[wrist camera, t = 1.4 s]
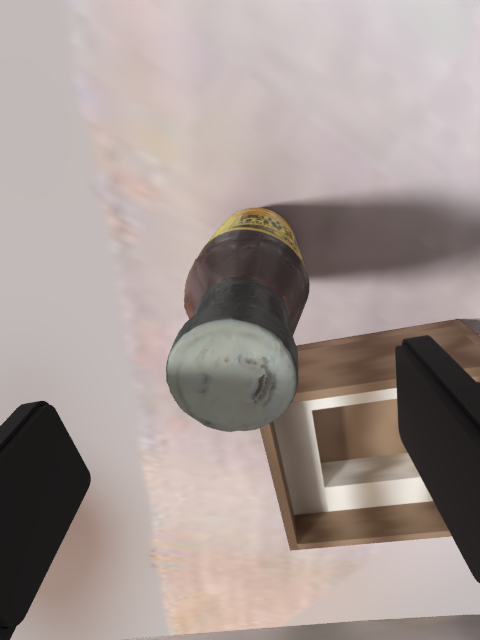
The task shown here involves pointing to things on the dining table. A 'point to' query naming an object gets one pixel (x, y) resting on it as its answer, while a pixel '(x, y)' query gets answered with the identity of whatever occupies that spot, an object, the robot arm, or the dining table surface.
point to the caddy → (355, 443)
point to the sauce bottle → (241, 325)
